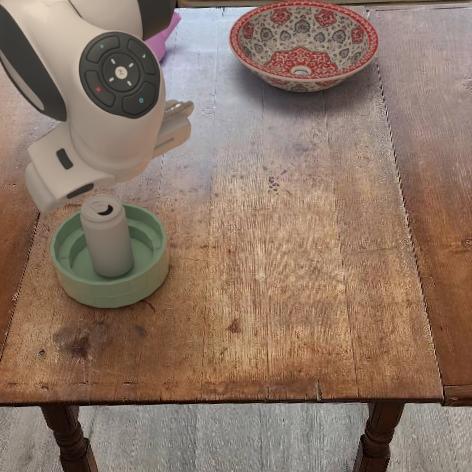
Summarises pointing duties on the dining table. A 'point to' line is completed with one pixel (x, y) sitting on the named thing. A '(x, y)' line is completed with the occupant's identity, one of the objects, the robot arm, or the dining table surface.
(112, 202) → the beverage can
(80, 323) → the dining table surface
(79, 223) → the green bowl
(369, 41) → the ceramic bowl
